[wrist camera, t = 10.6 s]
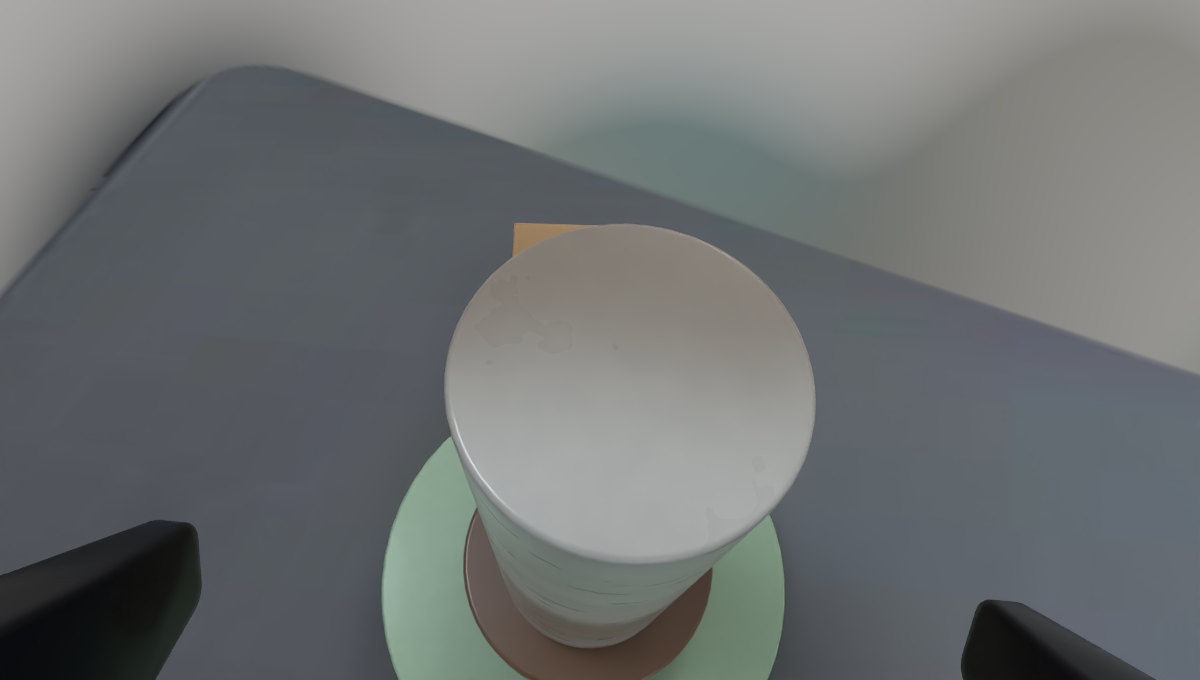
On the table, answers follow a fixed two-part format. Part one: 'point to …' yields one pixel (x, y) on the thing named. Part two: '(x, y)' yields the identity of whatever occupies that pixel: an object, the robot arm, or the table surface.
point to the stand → (467, 661)
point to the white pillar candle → (617, 440)
